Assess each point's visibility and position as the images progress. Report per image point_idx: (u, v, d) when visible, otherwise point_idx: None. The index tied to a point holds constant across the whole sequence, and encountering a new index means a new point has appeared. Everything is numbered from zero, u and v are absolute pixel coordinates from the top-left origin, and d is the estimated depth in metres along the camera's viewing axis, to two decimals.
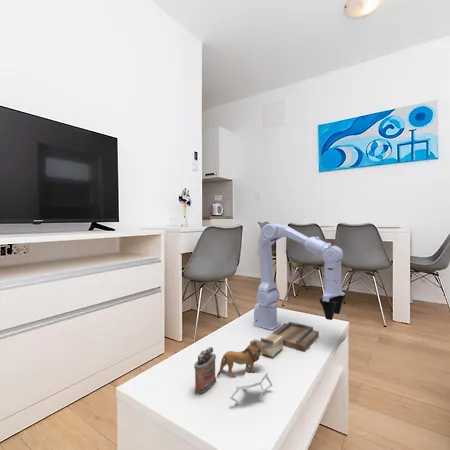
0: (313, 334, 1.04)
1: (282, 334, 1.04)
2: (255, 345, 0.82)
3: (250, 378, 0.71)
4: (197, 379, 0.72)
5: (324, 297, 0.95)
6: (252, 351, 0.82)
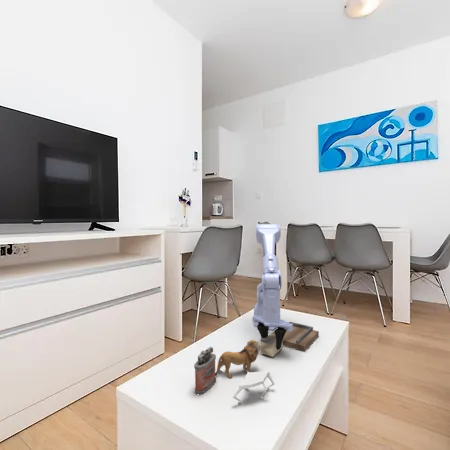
0: (313, 334, 1.04)
1: None
2: (252, 345, 0.82)
3: (253, 377, 0.71)
4: (197, 379, 0.72)
5: None
6: (249, 351, 0.81)
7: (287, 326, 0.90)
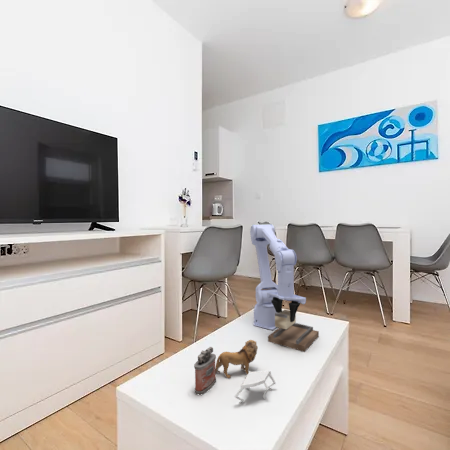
0: (313, 334, 1.04)
1: (282, 334, 1.04)
2: (250, 345, 0.82)
3: (254, 377, 0.72)
4: (197, 379, 0.72)
5: None
6: (247, 351, 0.81)
7: (301, 299, 0.96)
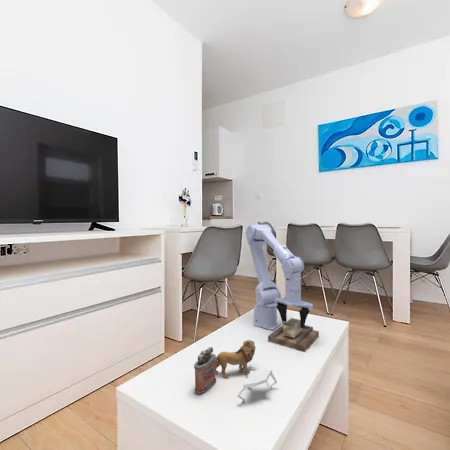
0: (313, 334, 1.04)
1: (282, 334, 1.04)
2: (248, 345, 0.82)
3: (256, 376, 0.72)
4: (197, 379, 0.72)
5: None
6: (245, 351, 0.81)
7: (308, 305, 0.99)
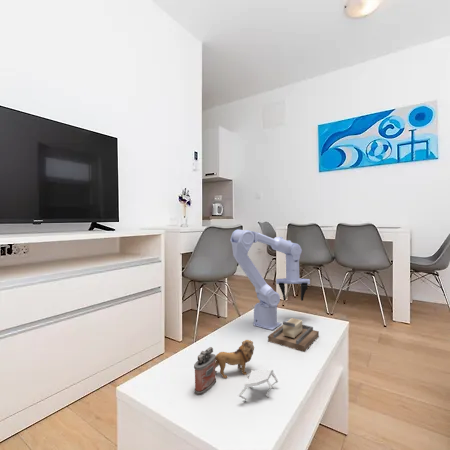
0: (313, 334, 1.04)
1: (282, 334, 1.04)
2: (247, 345, 0.82)
3: (257, 375, 0.72)
4: (197, 379, 0.72)
5: (276, 280, 1.23)
6: (244, 351, 0.81)
7: (307, 280, 1.20)
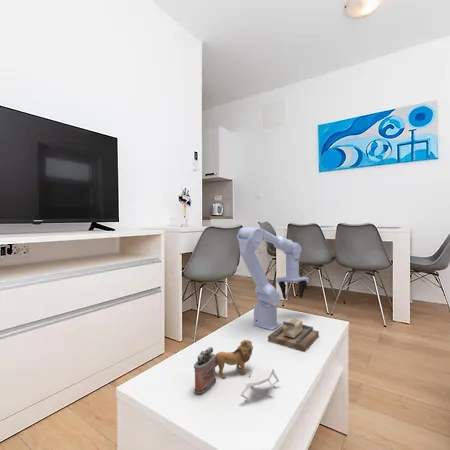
0: (313, 334, 1.04)
1: (282, 334, 1.04)
2: (246, 345, 0.82)
3: (258, 375, 0.73)
4: (197, 379, 0.72)
5: (276, 279, 1.25)
6: (242, 351, 0.81)
7: (306, 278, 1.25)
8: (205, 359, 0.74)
